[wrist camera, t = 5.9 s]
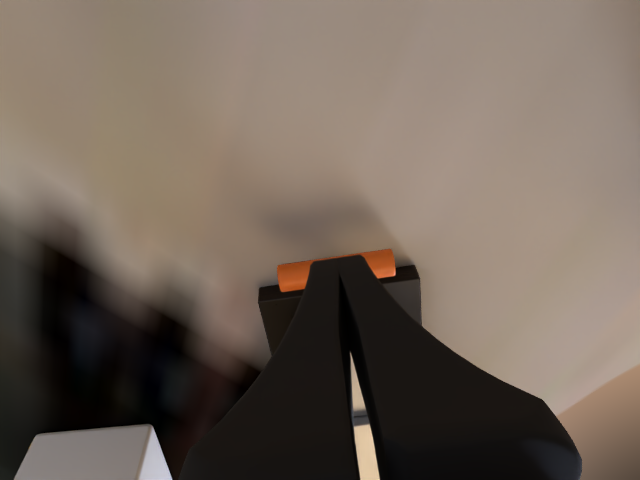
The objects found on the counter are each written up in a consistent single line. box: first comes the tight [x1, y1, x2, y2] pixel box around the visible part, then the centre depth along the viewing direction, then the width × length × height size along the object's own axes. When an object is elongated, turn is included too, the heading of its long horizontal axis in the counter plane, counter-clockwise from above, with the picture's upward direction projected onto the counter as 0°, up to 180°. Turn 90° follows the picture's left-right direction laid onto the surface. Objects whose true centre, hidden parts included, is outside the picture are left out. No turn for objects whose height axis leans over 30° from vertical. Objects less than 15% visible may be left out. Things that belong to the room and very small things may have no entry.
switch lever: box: [277, 249, 396, 480], centre depth 22 cm, size 10×5×2 cm, turn 7°
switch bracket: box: [258, 265, 422, 356], centre depth 25 cm, size 10×8×8 cm
